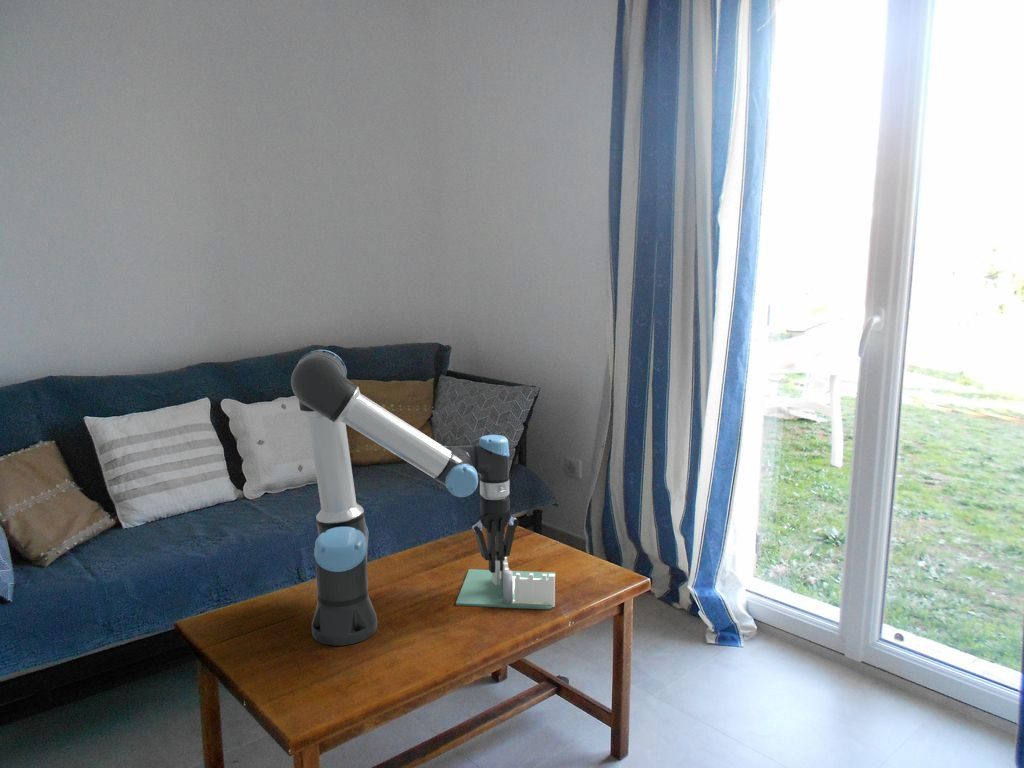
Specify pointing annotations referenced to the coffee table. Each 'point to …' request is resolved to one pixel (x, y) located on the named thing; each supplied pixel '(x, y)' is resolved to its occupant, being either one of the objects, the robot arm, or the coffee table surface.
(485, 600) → the board
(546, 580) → the fixed fence
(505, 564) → the white crenellated wall
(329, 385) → the robot arm
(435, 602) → the coffee table surface
